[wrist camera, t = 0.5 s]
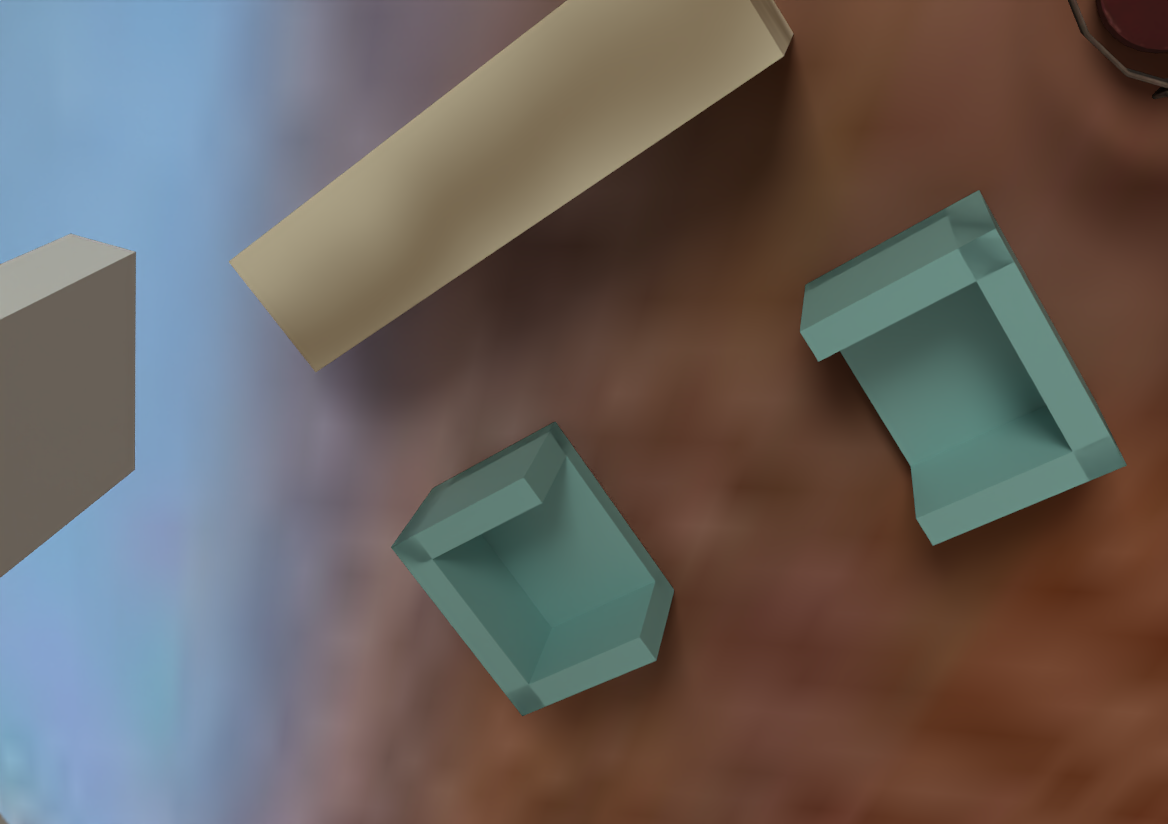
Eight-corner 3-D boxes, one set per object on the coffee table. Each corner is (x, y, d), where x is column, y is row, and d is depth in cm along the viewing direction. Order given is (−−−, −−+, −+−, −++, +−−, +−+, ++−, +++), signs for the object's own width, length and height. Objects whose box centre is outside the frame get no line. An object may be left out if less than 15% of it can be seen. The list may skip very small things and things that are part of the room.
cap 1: (432, 488, 39) (391, 547, 35) (555, 421, 37) (523, 477, 33) (550, 644, 41) (522, 715, 37) (674, 590, 38) (656, 660, 35)
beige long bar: (305, 216, 36) (228, 261, 31) (715, -98, 29) (691, -96, 25) (380, 314, 37) (315, 372, 32) (793, 32, 30) (783, 56, 26)
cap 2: (1096, 403, 32) (1126, 465, 29) (924, 479, 35) (933, 545, 31) (979, 190, 31) (995, 228, 27) (805, 284, 33) (799, 331, 29)
